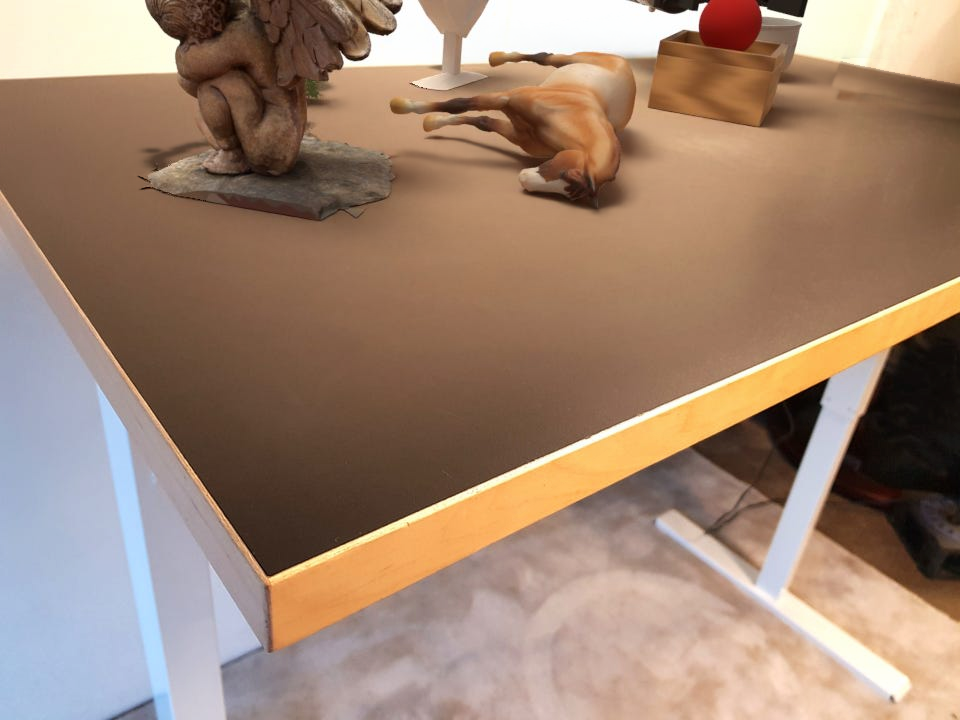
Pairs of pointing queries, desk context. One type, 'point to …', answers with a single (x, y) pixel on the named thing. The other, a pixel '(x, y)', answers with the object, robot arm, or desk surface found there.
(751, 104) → the wooden box
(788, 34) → the teacup
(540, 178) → the horse figurine
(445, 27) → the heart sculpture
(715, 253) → the desk surface
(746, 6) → the christmas ornament
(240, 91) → the cherub figurine
